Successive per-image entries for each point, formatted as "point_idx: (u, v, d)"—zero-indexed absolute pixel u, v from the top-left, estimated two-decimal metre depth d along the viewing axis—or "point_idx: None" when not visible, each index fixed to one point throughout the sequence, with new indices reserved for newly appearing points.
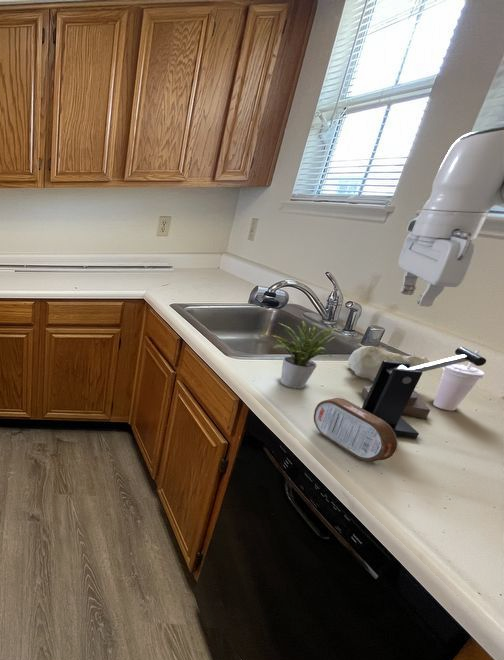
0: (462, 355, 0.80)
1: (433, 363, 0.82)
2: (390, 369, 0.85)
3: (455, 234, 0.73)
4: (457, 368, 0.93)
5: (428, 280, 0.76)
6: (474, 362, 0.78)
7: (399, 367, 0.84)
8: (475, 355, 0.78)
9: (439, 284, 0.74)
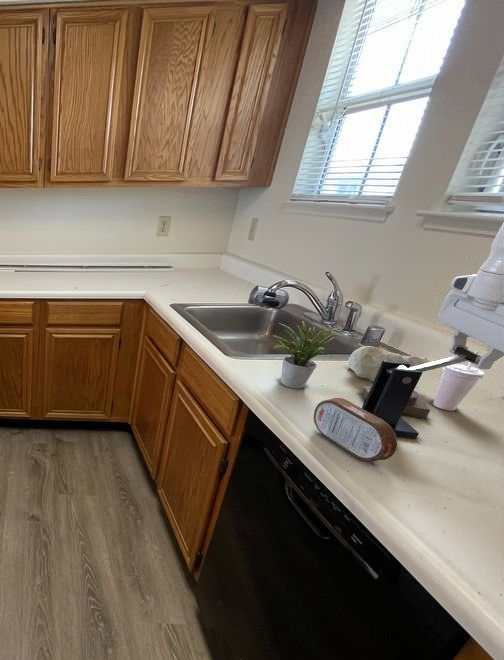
0: (462, 355, 0.80)
1: (433, 363, 0.82)
2: (390, 369, 0.85)
3: None
4: (457, 368, 0.93)
5: (497, 348, 0.72)
6: None
7: (399, 367, 0.84)
8: (475, 355, 0.78)
9: None
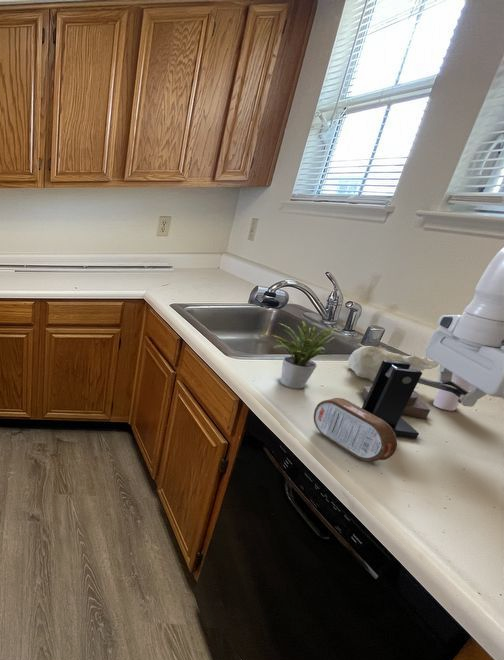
0: (453, 387, 0.83)
1: (430, 380, 0.83)
2: (396, 366, 0.84)
3: None
4: None
5: (480, 388, 0.75)
6: None
7: None
8: (466, 391, 0.81)
9: (496, 395, 0.73)
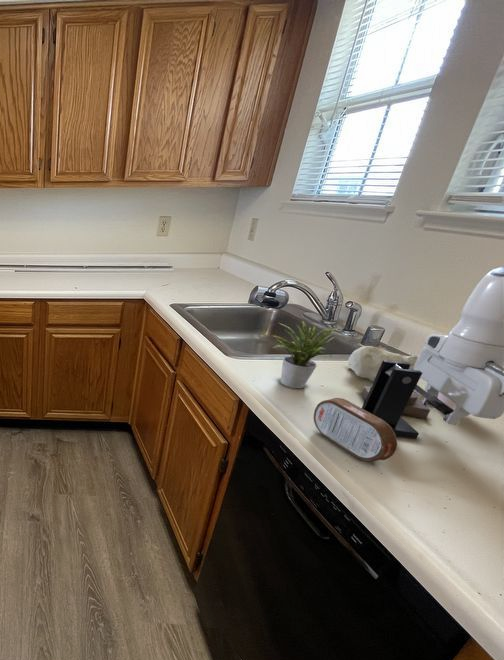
0: (438, 401, 0.85)
1: None
2: (399, 366, 0.84)
3: (491, 367, 0.75)
4: None
5: (464, 408, 0.77)
6: (446, 409, 0.82)
7: None
8: (449, 407, 0.83)
9: (479, 416, 0.75)
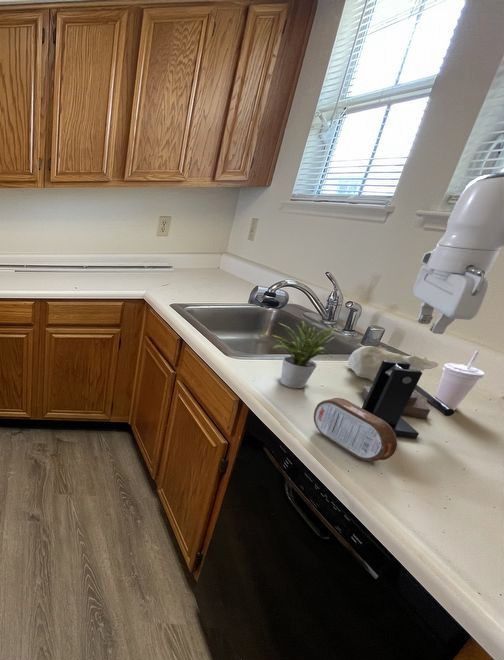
0: (438, 401, 0.85)
1: None
2: (399, 366, 0.84)
3: (469, 270, 0.78)
4: (457, 368, 0.93)
5: (443, 312, 0.81)
6: (446, 409, 0.82)
7: None
8: (449, 407, 0.83)
9: (454, 317, 0.79)
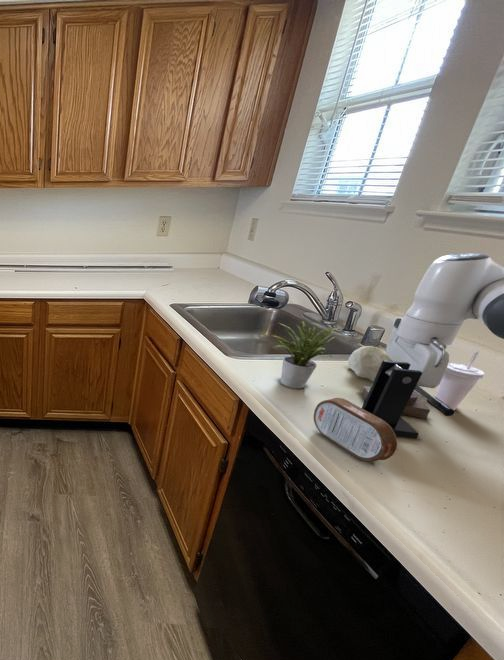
0: (438, 401, 0.85)
1: None
2: (399, 366, 0.84)
3: (433, 342, 0.85)
4: (457, 368, 0.93)
5: None
6: (446, 409, 0.82)
7: None
8: (449, 407, 0.83)
9: (419, 385, 0.85)
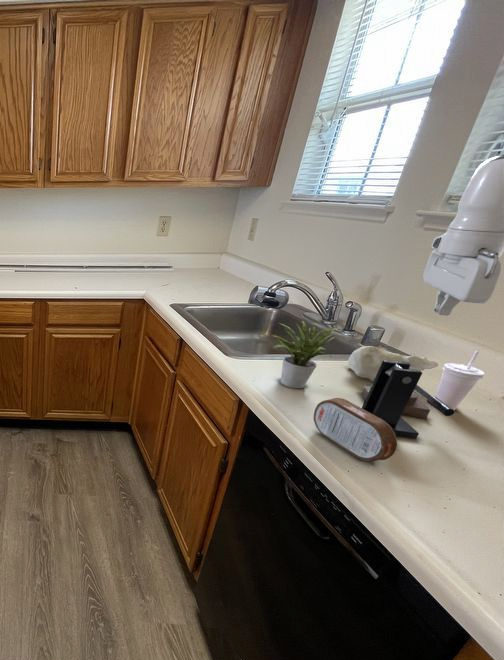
0: (438, 401, 0.85)
1: None
2: (399, 366, 0.84)
3: (482, 253, 0.77)
4: (457, 368, 0.93)
5: (456, 296, 0.80)
6: (446, 409, 0.82)
7: None
8: (449, 407, 0.83)
9: (467, 300, 0.78)
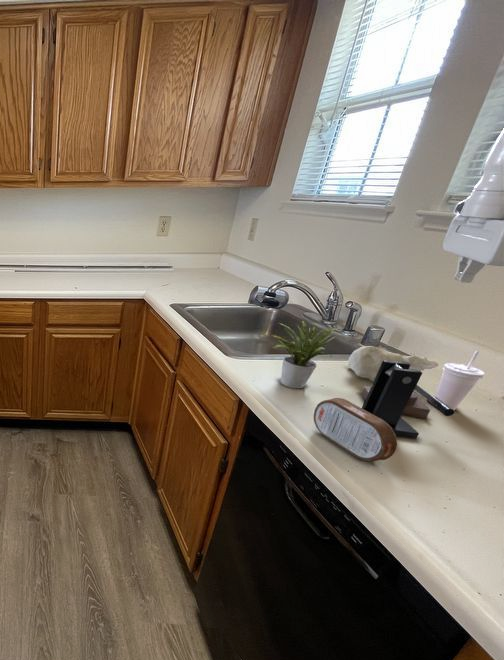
0: (438, 401, 0.85)
1: None
2: (399, 366, 0.84)
3: None
4: (457, 368, 0.93)
5: (480, 260, 0.77)
6: (446, 409, 0.82)
7: None
8: (449, 407, 0.83)
9: (492, 263, 0.75)
